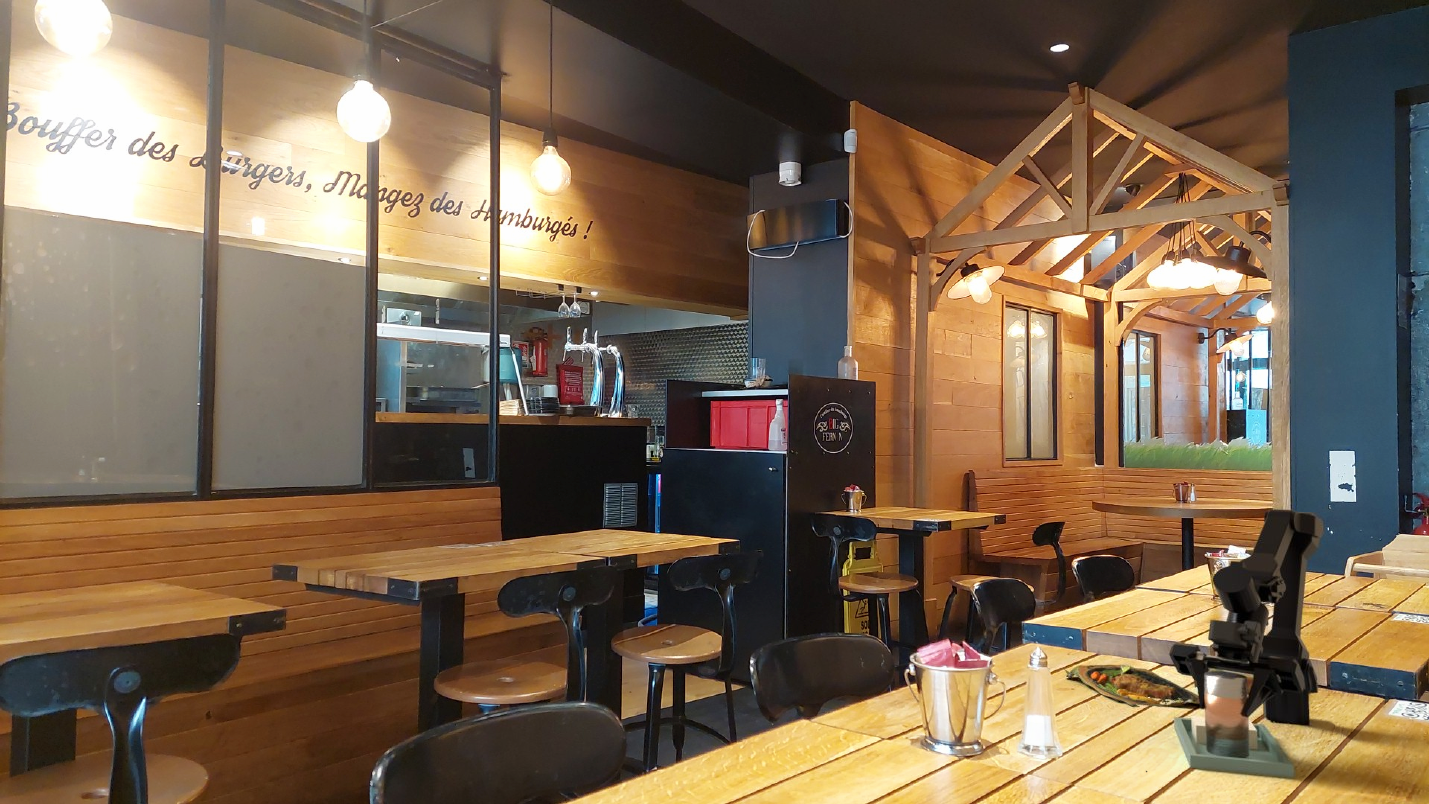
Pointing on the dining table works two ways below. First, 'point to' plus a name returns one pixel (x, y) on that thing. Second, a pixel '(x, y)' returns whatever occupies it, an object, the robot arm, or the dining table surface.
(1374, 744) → the dining table surface
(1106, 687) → the prepared meal
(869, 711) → the dining table surface
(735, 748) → the dining table surface
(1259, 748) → the tray
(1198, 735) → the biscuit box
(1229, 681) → the tin can
